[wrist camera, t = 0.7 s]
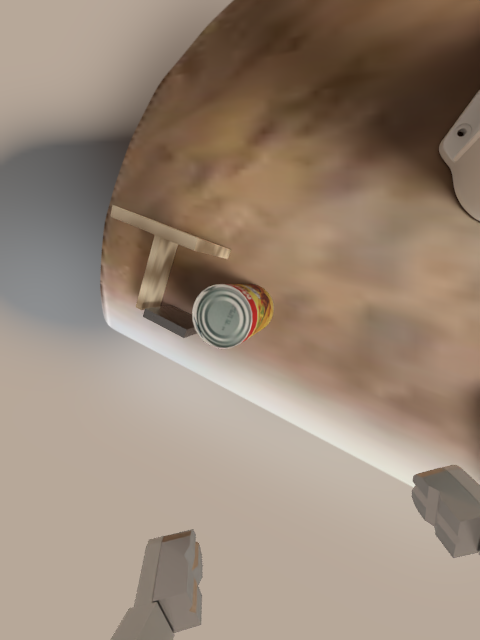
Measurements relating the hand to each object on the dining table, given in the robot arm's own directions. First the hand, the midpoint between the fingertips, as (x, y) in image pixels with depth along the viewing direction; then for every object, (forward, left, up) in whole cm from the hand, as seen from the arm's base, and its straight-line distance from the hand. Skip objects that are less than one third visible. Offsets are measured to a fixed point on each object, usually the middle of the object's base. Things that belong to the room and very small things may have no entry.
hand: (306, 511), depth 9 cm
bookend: (+7, -23, -31) cm, 39 cm away
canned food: (0, -12, -31) cm, 34 cm away
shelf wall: (0, -26, -31) cm, 41 cm away
